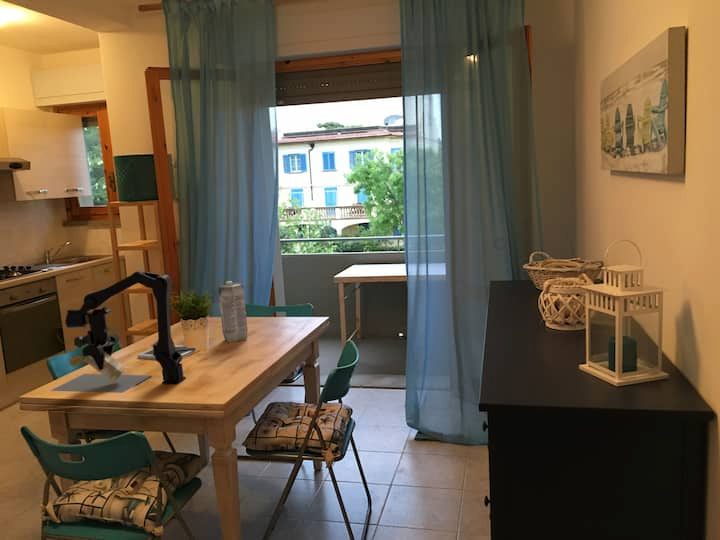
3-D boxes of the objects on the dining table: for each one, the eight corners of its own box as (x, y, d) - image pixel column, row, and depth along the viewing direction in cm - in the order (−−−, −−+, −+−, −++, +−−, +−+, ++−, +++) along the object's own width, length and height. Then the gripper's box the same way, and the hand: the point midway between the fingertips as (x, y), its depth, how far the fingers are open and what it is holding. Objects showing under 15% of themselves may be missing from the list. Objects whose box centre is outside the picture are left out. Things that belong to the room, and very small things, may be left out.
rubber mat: (151, 376, 228) (151, 375, 228) (122, 394, 211) (122, 392, 211) (84, 375, 235) (83, 373, 235) (50, 392, 218) (50, 390, 218)
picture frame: (200, 351, 261) (163, 348, 269) (200, 345, 260) (162, 342, 268) (176, 362, 246) (137, 359, 255) (175, 356, 246) (137, 353, 254)
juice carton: (249, 339, 272) (244, 281, 268) (226, 343, 268) (220, 284, 264) (244, 335, 280) (239, 279, 276) (222, 339, 276) (216, 282, 271)
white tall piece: (126, 367, 222) (97, 346, 221) (121, 372, 217) (92, 350, 216) (118, 377, 223) (89, 356, 221) (113, 382, 218) (83, 360, 216)
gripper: (86, 321, 226) (92, 361, 229) (64, 334, 208) (70, 377, 210) (116, 319, 226) (121, 359, 229) (96, 332, 208) (102, 375, 210)
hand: (104, 367), depth 220 cm, fingers closed on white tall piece, 5 cm apart
